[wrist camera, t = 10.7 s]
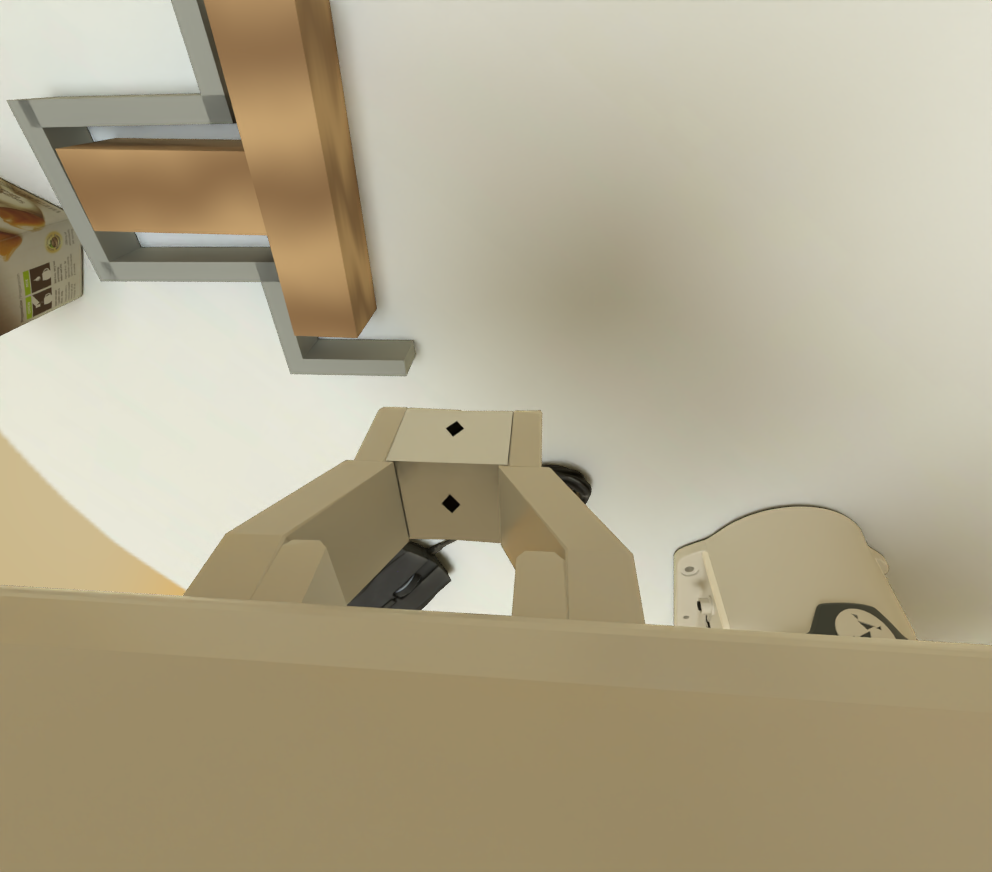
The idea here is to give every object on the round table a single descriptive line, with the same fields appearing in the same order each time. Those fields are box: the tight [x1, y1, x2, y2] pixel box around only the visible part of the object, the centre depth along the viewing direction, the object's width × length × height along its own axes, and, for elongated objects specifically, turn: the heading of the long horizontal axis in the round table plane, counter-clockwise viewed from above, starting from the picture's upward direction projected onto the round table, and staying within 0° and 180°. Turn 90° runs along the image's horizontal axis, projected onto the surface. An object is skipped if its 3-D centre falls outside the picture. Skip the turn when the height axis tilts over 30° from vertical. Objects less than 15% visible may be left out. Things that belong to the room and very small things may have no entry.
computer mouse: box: [347, 465, 591, 610], centre depth 46 cm, size 10×32×6 cm, turn 133°
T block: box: [55, 0, 377, 338], centre depth 27 cm, size 16×14×4 cm
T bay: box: [6, 0, 415, 376], centre depth 28 cm, size 22×19×3 cm
